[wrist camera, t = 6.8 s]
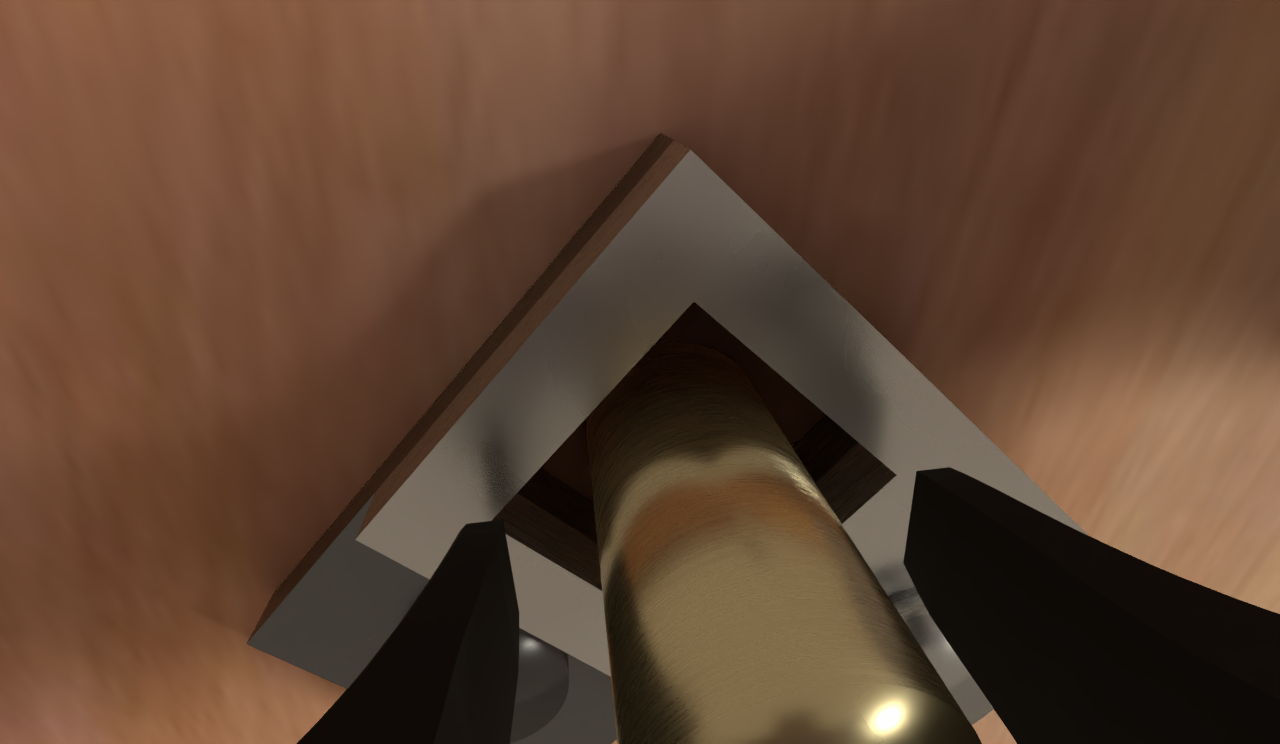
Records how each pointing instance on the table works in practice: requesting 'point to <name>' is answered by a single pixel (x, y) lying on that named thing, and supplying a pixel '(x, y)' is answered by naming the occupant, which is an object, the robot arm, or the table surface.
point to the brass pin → (740, 578)
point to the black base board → (385, 590)
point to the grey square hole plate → (614, 343)
